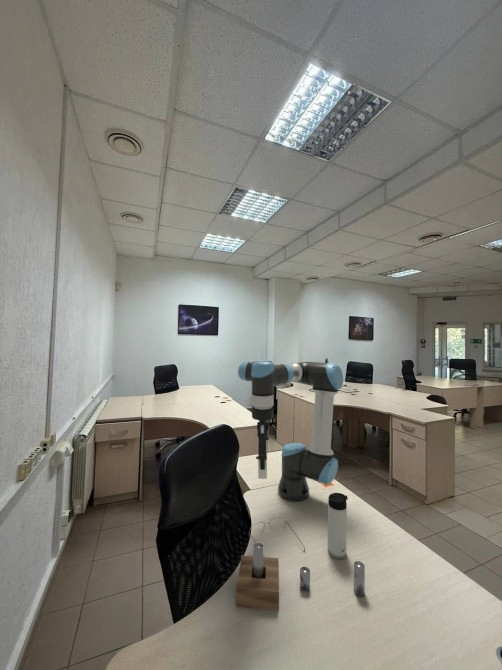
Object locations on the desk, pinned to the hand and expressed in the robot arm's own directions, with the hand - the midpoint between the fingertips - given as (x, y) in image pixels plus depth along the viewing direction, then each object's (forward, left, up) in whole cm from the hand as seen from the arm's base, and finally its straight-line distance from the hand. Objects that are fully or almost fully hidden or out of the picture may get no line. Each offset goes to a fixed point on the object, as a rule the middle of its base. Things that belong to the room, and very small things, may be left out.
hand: (263, 467), depth 95 cm
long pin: (+12, 0, -31) cm, 33 cm away
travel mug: (-5, +27, -31) cm, 41 cm away
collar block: (+12, 0, -31) cm, 33 cm away
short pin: (+10, +14, -31) cm, 35 cm away
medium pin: (+10, +30, -31) cm, 44 cm away
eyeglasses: (-7, +5, -32) cm, 33 cm away
